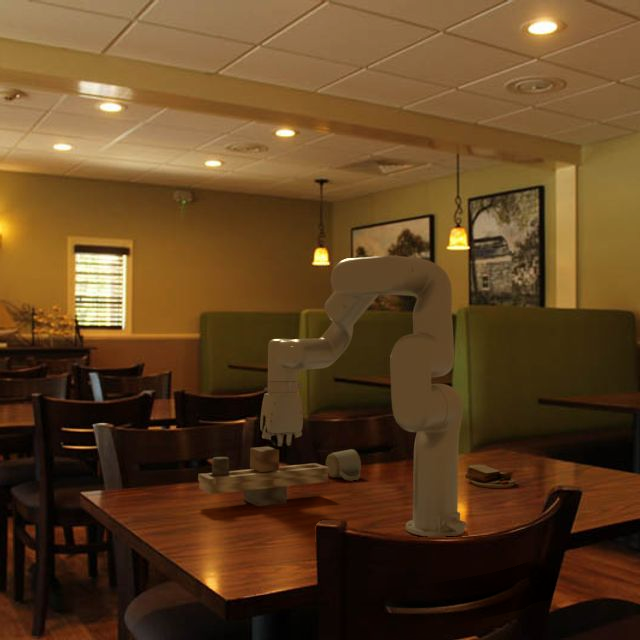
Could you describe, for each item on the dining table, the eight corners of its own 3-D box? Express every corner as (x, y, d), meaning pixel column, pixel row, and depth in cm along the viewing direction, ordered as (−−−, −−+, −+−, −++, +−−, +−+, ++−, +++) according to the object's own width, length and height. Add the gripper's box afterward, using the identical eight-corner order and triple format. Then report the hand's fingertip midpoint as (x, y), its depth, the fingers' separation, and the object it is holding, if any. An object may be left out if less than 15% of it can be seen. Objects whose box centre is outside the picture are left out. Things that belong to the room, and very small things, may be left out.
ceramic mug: (323, 475, 234) (324, 449, 234) (347, 473, 239) (347, 447, 238) (343, 483, 225) (344, 455, 225) (367, 480, 230) (368, 453, 229)
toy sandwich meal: (494, 491, 217) (494, 473, 217) (457, 482, 228) (458, 466, 228) (525, 486, 224) (525, 469, 224) (488, 478, 235) (488, 461, 235)
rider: (267, 473, 205) (268, 446, 205) (278, 477, 200) (279, 450, 200) (249, 475, 202) (250, 447, 202) (260, 479, 197) (260, 451, 197)
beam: (313, 491, 213) (314, 447, 213) (329, 497, 206) (330, 452, 206) (197, 505, 196) (197, 457, 196) (210, 512, 189) (210, 462, 189)
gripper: (301, 385, 210) (300, 456, 210) (249, 387, 203) (248, 461, 203) (315, 388, 204) (315, 461, 204) (262, 390, 196) (261, 466, 196)
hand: (281, 461), depth 203 cm, fingers closed
